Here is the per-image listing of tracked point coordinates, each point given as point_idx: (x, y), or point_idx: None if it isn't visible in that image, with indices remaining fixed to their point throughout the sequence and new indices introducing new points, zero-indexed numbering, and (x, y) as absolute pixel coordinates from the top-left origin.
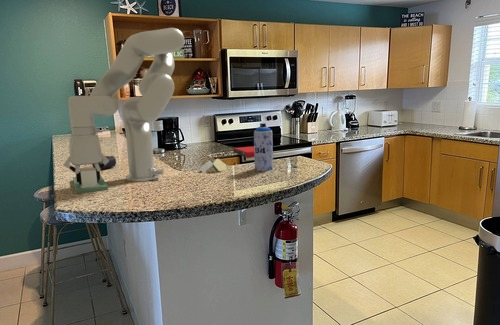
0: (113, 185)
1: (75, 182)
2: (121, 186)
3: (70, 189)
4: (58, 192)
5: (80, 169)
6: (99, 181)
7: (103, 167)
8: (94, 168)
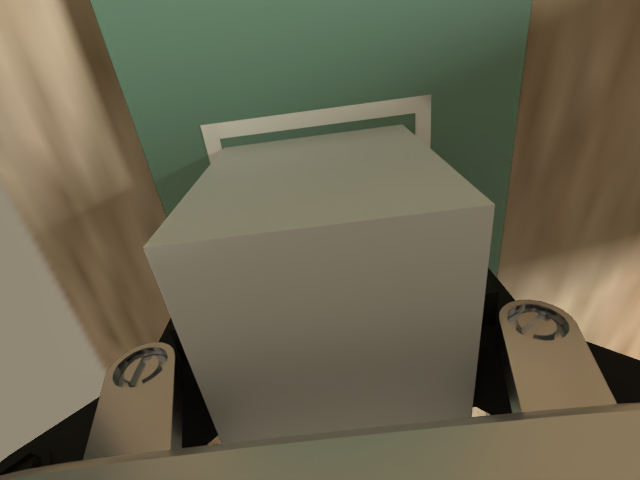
0: (553, 244)
1: (128, 50)
2: (596, 311)
3: (144, 230)
4: (66, 299)
5: (210, 384)
6: (451, 153)
7: None
8: (468, 397)
